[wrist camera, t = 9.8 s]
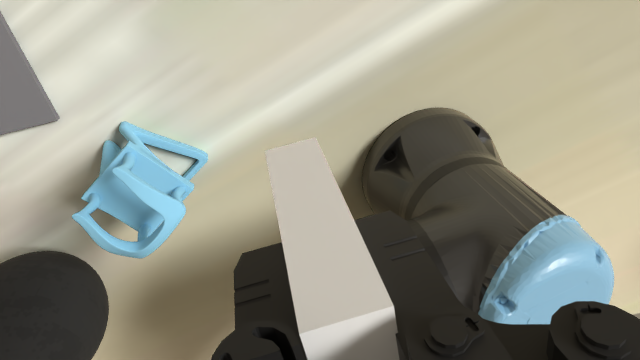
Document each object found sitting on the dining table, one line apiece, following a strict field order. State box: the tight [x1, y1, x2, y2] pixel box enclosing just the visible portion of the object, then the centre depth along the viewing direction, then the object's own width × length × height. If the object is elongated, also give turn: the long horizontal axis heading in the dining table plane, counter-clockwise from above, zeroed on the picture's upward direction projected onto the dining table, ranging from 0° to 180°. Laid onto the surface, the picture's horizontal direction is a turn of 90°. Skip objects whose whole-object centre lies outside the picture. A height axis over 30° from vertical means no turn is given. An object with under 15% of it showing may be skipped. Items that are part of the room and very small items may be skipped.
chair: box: [72, 122, 208, 258], centre depth 37 cm, size 8×8×12 cm
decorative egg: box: [0, 251, 109, 360], centre depth 40 cm, size 12×12×15 cm
